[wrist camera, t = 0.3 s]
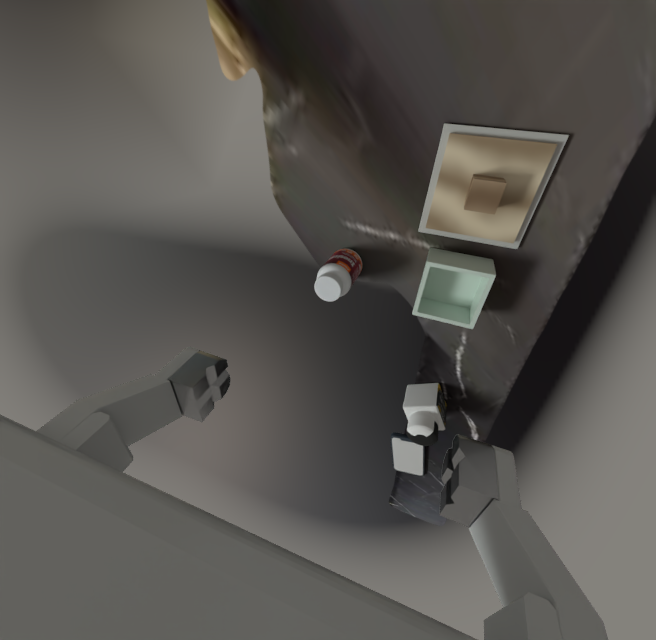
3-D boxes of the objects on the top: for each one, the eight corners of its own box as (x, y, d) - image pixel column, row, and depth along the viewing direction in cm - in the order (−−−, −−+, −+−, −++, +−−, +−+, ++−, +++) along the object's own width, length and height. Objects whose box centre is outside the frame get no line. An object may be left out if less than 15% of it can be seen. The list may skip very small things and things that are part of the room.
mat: (444, 123, 42) (444, 123, 42) (567, 134, 38) (569, 135, 38) (418, 230, 51) (418, 231, 50) (516, 247, 47) (517, 249, 47)
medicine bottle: (446, 405, 70) (444, 451, 60) (415, 406, 73) (408, 449, 64) (439, 381, 67) (435, 426, 58) (406, 384, 70) (398, 426, 61)
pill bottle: (364, 250, 56) (347, 276, 48) (361, 280, 60) (344, 309, 51) (332, 244, 58) (310, 268, 49) (331, 274, 61) (310, 301, 53)
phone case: (425, 472, 87) (425, 436, 78) (424, 477, 86) (425, 442, 77) (393, 464, 90) (390, 430, 82) (392, 469, 89) (389, 435, 80)
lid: (449, 132, 42) (448, 135, 39) (555, 143, 39) (564, 147, 36) (425, 226, 50) (423, 235, 46) (512, 241, 46) (516, 252, 43)
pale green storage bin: (429, 247, 52) (426, 261, 47) (493, 259, 49) (496, 275, 45) (416, 297, 58) (412, 314, 53) (471, 310, 55) (472, 329, 51)
